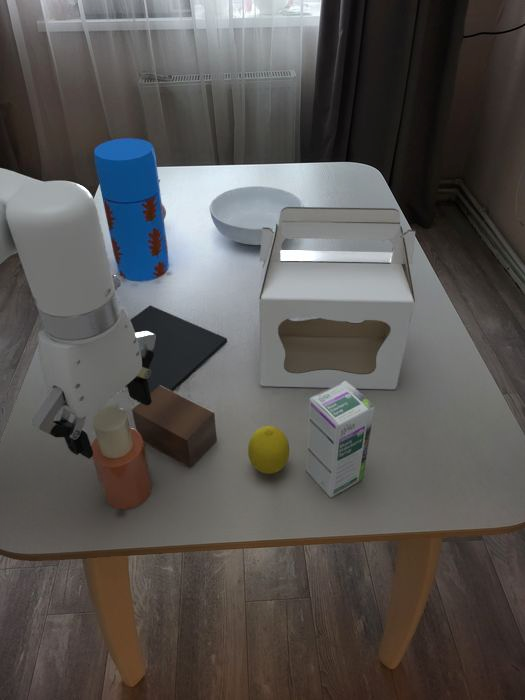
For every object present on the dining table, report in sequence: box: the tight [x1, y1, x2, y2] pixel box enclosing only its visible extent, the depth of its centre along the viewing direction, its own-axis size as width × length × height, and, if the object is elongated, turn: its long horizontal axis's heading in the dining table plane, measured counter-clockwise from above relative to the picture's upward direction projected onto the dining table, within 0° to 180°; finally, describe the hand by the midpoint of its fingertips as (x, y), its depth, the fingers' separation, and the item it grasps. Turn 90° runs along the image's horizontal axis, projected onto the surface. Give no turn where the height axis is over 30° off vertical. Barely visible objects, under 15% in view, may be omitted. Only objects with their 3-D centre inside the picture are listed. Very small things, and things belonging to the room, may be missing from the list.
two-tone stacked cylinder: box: [91, 405, 153, 510], centre depth 70 cm, size 6×12×14 cm
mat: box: [125, 305, 228, 394], centre depth 96 cm, size 18×18×1 cm
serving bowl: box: [209, 185, 305, 246], centre depth 125 cm, size 21×21×7 cm
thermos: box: [93, 137, 170, 282], centre depth 108 cm, size 11×11×25 cm
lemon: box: [247, 425, 290, 475], centre depth 75 cm, size 6×6×8 cm
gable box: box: [258, 206, 416, 390], centre depth 85 cm, size 22×13×28 cm, turn 88°
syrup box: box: [305, 381, 375, 498], centre depth 72 cm, size 6×6×14 cm
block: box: [131, 385, 218, 469], centre depth 79 cm, size 10×6×6 cm, turn 57°
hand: (113, 425), depth 66 cm, fingers open, 9 cm apart
